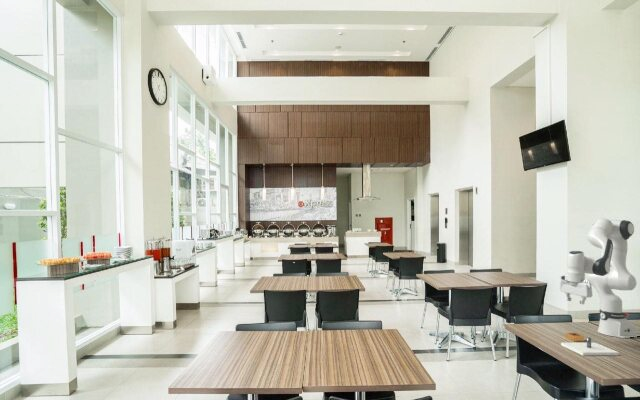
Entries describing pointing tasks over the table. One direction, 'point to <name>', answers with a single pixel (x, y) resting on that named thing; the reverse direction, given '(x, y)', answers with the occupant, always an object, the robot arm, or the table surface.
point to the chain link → (574, 337)
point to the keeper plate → (589, 348)
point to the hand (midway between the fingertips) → (575, 302)
